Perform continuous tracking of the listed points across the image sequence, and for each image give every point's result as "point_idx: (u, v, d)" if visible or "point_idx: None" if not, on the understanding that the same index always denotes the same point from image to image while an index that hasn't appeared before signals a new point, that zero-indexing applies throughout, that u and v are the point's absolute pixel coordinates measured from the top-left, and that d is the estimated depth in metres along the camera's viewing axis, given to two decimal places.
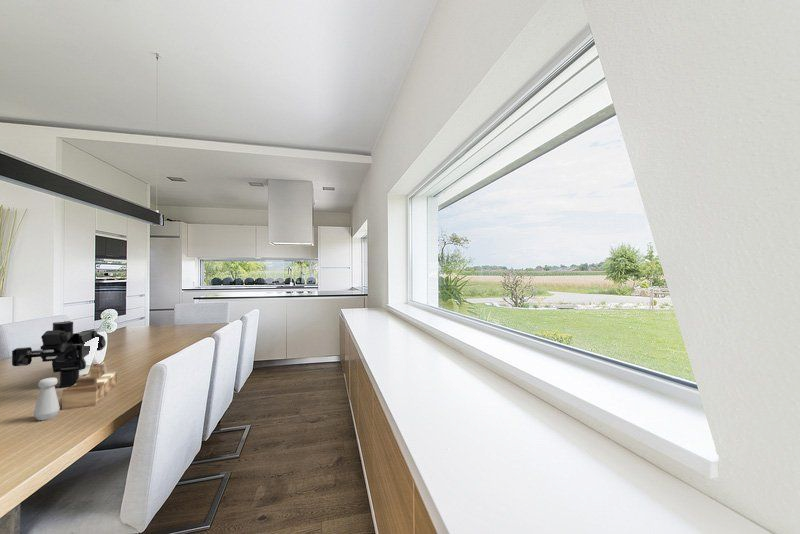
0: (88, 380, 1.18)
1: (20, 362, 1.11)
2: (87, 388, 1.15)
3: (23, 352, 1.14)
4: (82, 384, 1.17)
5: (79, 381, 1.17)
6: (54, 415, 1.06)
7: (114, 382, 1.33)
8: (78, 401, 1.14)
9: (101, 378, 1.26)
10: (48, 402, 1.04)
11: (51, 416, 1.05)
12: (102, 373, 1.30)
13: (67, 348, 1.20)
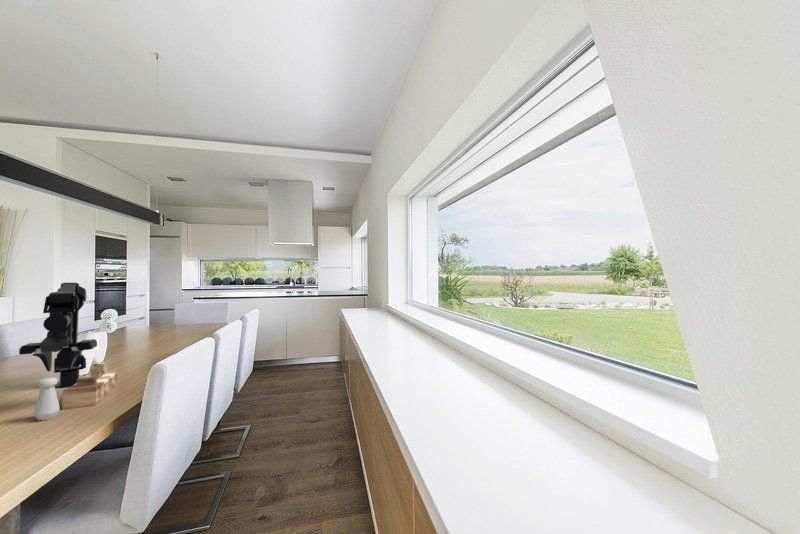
0: (88, 380, 1.18)
1: (50, 369, 1.14)
2: (87, 388, 1.15)
3: (41, 356, 1.12)
4: (82, 384, 1.17)
5: (79, 381, 1.17)
6: (54, 415, 1.06)
7: (114, 382, 1.33)
8: (78, 401, 1.14)
9: (101, 378, 1.26)
10: (47, 402, 1.04)
11: (51, 416, 1.05)
12: (102, 373, 1.30)
13: (71, 353, 1.15)
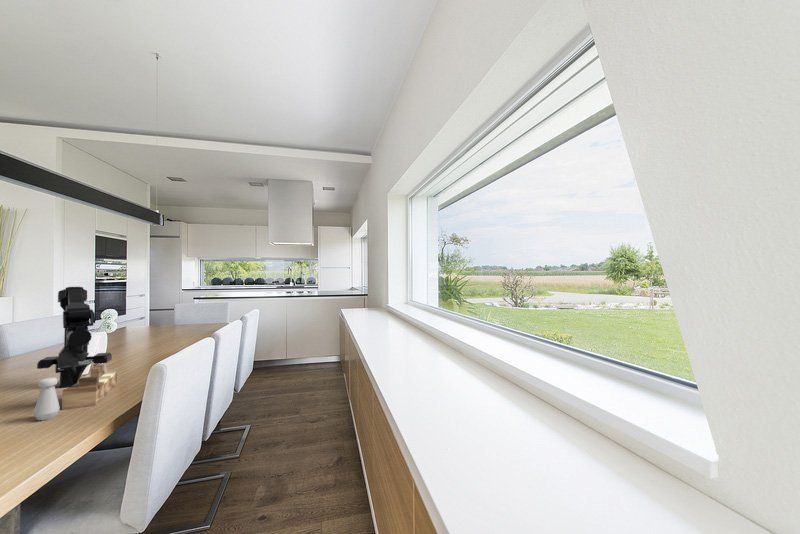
0: (90, 380, 1.18)
1: None
2: (87, 388, 1.15)
3: (68, 369, 1.15)
4: (84, 384, 1.18)
5: (81, 381, 1.17)
6: (54, 415, 1.06)
7: (114, 382, 1.33)
8: (78, 401, 1.14)
9: (101, 378, 1.26)
10: (47, 402, 1.04)
11: (51, 416, 1.05)
12: (102, 373, 1.30)
13: (77, 368, 1.16)
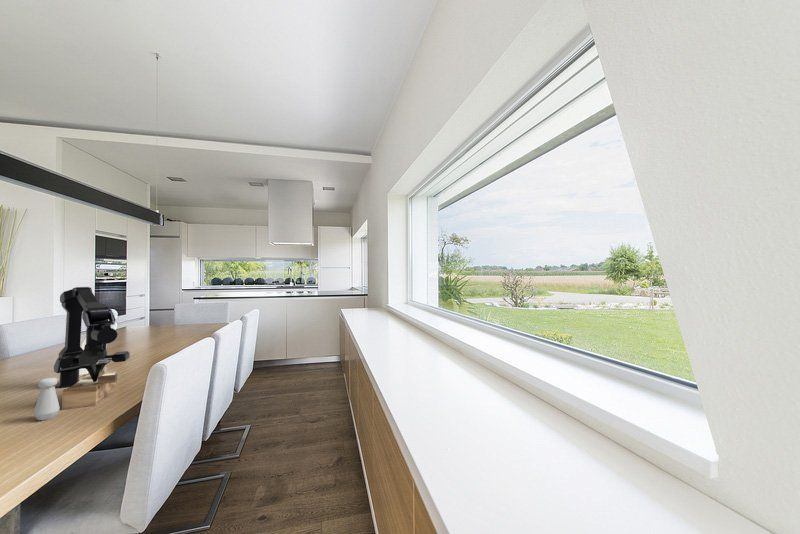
0: (109, 378, 1.21)
1: None
2: (87, 388, 1.15)
3: (88, 367, 1.17)
4: (103, 382, 1.20)
5: (101, 379, 1.20)
6: (54, 415, 1.06)
7: None
8: (78, 401, 1.14)
9: None
10: (48, 402, 1.04)
11: (51, 416, 1.05)
12: (102, 373, 1.30)
13: (97, 366, 1.18)
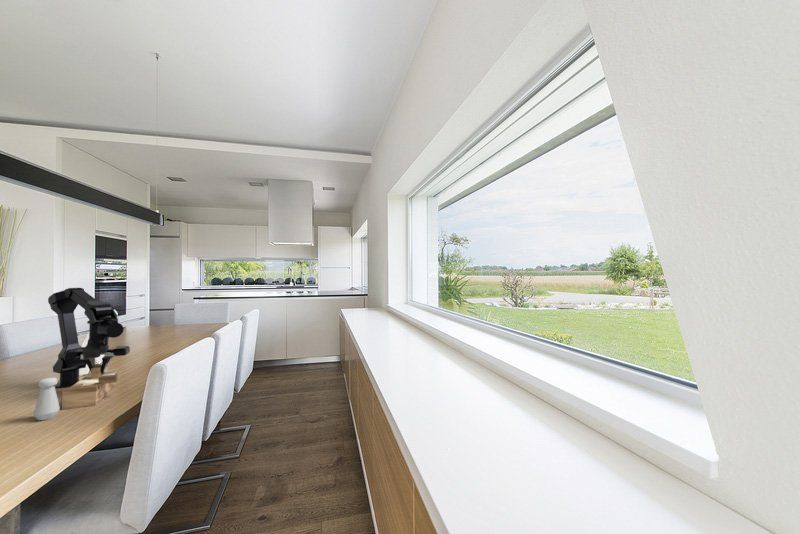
0: (110, 378, 1.21)
1: None
2: (87, 388, 1.15)
3: (87, 361, 1.25)
4: (104, 382, 1.20)
5: (101, 379, 1.20)
6: (54, 415, 1.06)
7: None
8: (78, 401, 1.14)
9: None
10: (48, 402, 1.04)
11: (51, 416, 1.05)
12: None
13: (103, 359, 1.27)
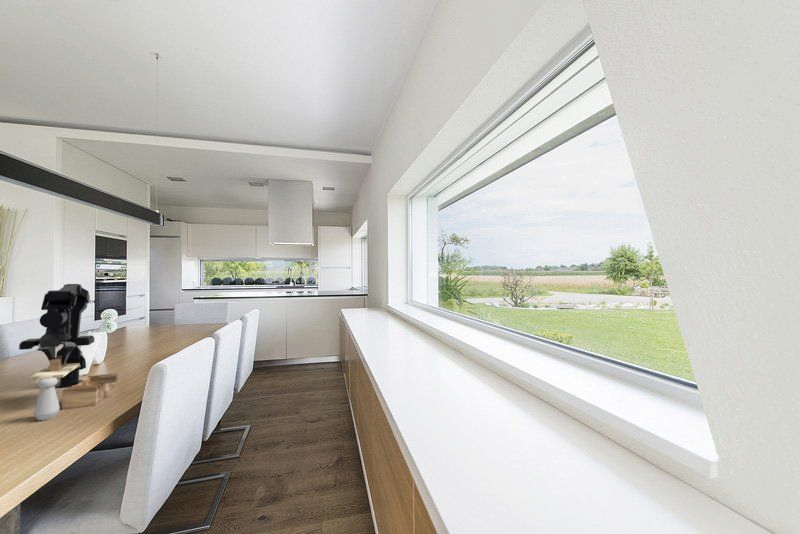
0: (110, 378, 1.21)
1: None
2: (87, 388, 1.15)
3: (45, 351, 1.17)
4: (104, 382, 1.20)
5: (101, 379, 1.20)
6: (54, 415, 1.06)
7: None
8: (78, 401, 1.14)
9: (61, 370, 1.18)
10: (48, 402, 1.04)
11: (51, 416, 1.05)
12: (63, 365, 1.21)
13: (64, 349, 1.19)
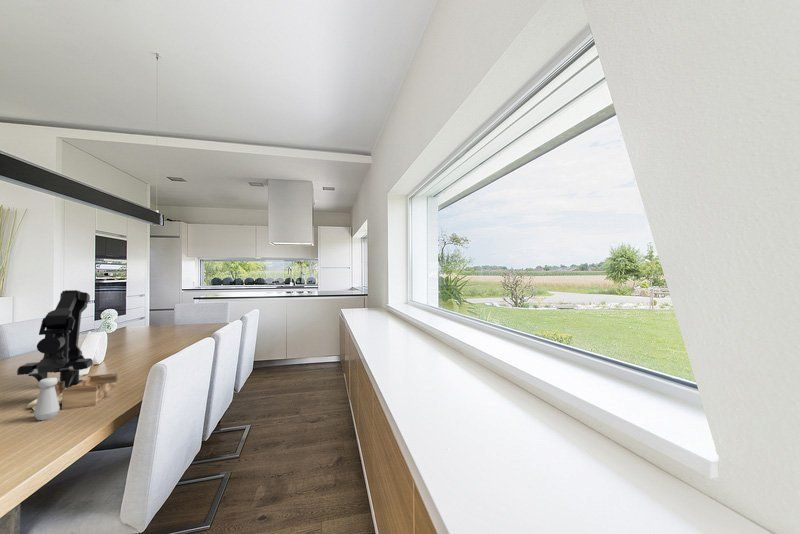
0: (110, 378, 1.21)
1: None
2: (87, 388, 1.15)
3: (37, 376, 1.16)
4: (104, 382, 1.20)
5: (101, 379, 1.20)
6: (54, 415, 1.06)
7: None
8: (78, 401, 1.14)
9: (59, 396, 1.18)
10: (48, 402, 1.04)
11: (51, 416, 1.05)
12: (61, 391, 1.21)
13: (68, 373, 1.19)
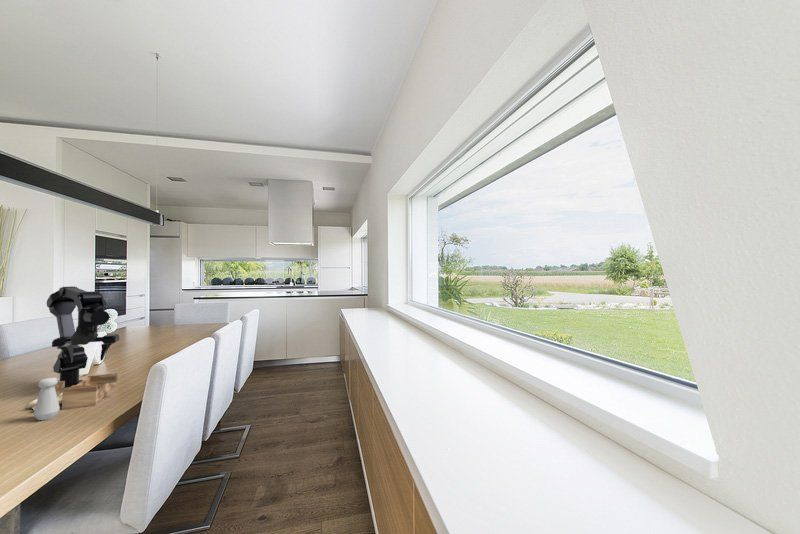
0: (110, 378, 1.21)
1: (71, 360, 1.26)
2: (87, 388, 1.15)
3: (64, 349, 1.23)
4: (104, 382, 1.20)
5: (101, 379, 1.20)
6: (54, 415, 1.06)
7: None
8: (78, 401, 1.14)
9: (59, 396, 1.18)
10: (48, 402, 1.04)
11: (51, 416, 1.05)
12: (61, 391, 1.21)
13: (103, 346, 1.28)
